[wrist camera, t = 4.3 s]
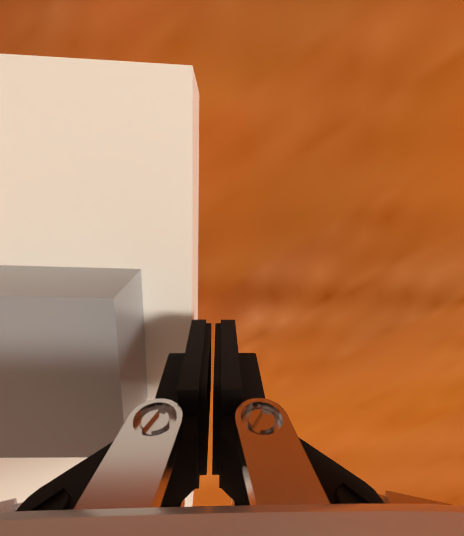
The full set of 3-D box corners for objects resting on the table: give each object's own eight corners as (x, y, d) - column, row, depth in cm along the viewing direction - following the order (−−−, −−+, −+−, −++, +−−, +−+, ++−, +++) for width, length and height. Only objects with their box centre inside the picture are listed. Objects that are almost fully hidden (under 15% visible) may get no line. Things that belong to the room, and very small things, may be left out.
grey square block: (-19, 264, 11) (-105, 293, 8) (141, 269, 11) (113, 298, 8) (10, 395, 13) (-53, 458, 10) (147, 396, 13) (126, 457, 10)
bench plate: (-202, 71, 11) (-345, 32, 8) (199, 93, 12) (192, 65, 9) (-72, 456, 17) (-132, 511, 14) (196, 454, 18) (192, 507, 15)
